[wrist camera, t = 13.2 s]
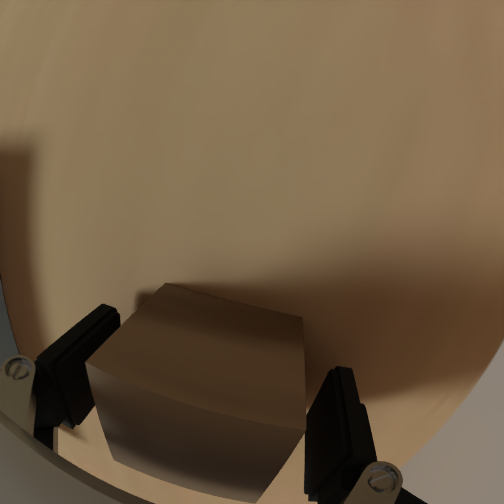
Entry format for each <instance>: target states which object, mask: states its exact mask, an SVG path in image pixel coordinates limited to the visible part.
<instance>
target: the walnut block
mask: <svg viewBox="0 0 504 504" xmlns="http://www.w3.org/2000/svg"><path fill="white" fill-rule="evenodd" d="M85 364H86V369H87V374H88V378H89V382H90V387H91V391H92V395H93V398H94V402H95V406H96V409H97V413H98V416H99V419H100V423H101V426H102V429H103V432H104V435H105V438H106V441H107V443H108V446H109V449H110V452H111V454H112V457H113V459H114V460H115V461H117V462H119V463H121V464H124V465H126V466H128V467H130V468H133V469H135V470H137V471H140V472H142V473H145V474H147V475H150V476H152V477H155V478H158V479H160V480H163V481H166V482H169V483H172V484H175V485H178V486H181V487H184V488H188V489H191V490H195V491H198V492H202V493H206V494H210V495H214V496H218V497H223V498H227V499H232V500H238V501H243V502H249V503H256V502H257V501H258V499H259V498H260V497H261V496H262V494H263V493H264V492H265V490H266V489H267V488H268V486H269V485H270V484H271V482H272V481H273V480H274V478H275V477H276V475H277V474H278V473H279V471H280V470H281V468H282V467H283V465H284V464H285V462H286V461H287V460H288V458H289V457H290V455H291V454H292V452H293V450H294V449H295V447H296V446H297V444H298V443H299V441H300V440H301V438H302V436H303V435H304V433H305V431H306V386H305V361H304V341H303V323H302V317H298V316H294V315H289V314H285V313H280V312H276V311H272V310H267V309H263V308H259V307H255V306H250V305H246V304H242V303H238V302H234V301H230V300H226V299H222V298H219V297H215V296H211V295H207V294H203V293H200V292H196V291H192V290H189V289H185V288H182V287H178V286H174V285H171V284H167V283H165V284H164V285H163V286H162V287H161V288H160V289H158V290H157V291H156V292H155V293H154V294H153V295H152V296H151V297H150V298H149V299H148V300H147V301H146V302H145V303H144V304H143V305H142V306H141V307H140V308H139V309H138V310H137V311H136V312H135V313H134V314H132V315H131V316H130V317H129V318H128V319H127V320H126V321H125V322H124V323H123V324H122V325H121V326H120V327H119V328H118V329H117V330H116V331H115V332H114V333H113V334H112V335H111V336H110V337H109V338H108V339H107V340H106V341H105V342H104V343H103V344H102V345H101V346H100V347H99V348H98V349H97V350H96V351H95V352H94V353H93V354H92V355H91V356H90V358H89V359H88V360H87V361H86V362H85Z"/></svg>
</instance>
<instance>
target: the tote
mask: <svg viewBox="0 0 504 504" xmlns="http://www.w3.org/2000/svg"><path fill="white" fill-rule="evenodd" d="M14 355H19V352H18V349H17V346H16V343H15V340H14V336H13V333H12V329H11V325H10V322H9V318H8V313H7V309H6V305H5V300H4V295H3V290H2V284H1V279H0V369H1V367H2V365H3V363H4V361H5V360H6V359H7V358H9V357H11V356H14Z"/></svg>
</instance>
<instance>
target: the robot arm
mask: <svg viewBox="0 0 504 504" xmlns="http://www.w3.org/2000/svg"><path fill="white" fill-rule="evenodd" d="M120 326H121V324H120V314H119V313H117V309H116V308H114V307H111V306H109V305H106V304H101V305H100V306H98V307H97V308H96V309H95V310H93V311H92V312H91V313H90V314H88V315H87V316H86V317H84V318H83V319H82V320H81V321H80V322H78V323H77V324H76V325H75V326H73V327H72V328H71V329H70V330H68V331H67V332H66V333H65V334H64V335H62V336H61V337H60V338H59V339H58V340H56V341H55V342H54V343H53V344H52V345H50V346H49V347H48V348H47V349H46V350H44V351H43V352H42V353H41V354H40V355H39V356H37V360H36V361H35V362H33V360H32V359H31V358H29V357H27V356H24V355H14V356H11V357H9V358H7V359H6V360H5V361H4V363H3V365H2V367H1V369H0V504H155V503H152V502H149V501H147V500H144V499H142V498H139V497H137V496H134V495H132V494H130V493H127V492H125V491H123V490H121V489H119V488H117V487H114V486H112V485H110V484H108V483H106V482H104V481H102V480H100V479H99V478H97V477H95V476H93V475H91V474H89V473H87V472H86V471H84V470H82V469H81V468H79V467H77V466H75V465H74V464H72V463H71V462H69V461H67V460H66V459H64V458H63V457H61V456H60V455H58V427H59V426H60V424H61V423H63V424H64V425H66V426H68V427H69V428H71V429H73V428H74V427H75V425H76V424H77V425H80V424H81V423H82V422H83V420H84V419H85V418H86V416H87V415H88V414H89V412H90V411H91V410H92V409H93V407H94V406H95V402H94V398H93V395H92V391H91V387H90V382H89V378H88V374H87V369H86V364H85V362H86V361H87V360H88V359H89V358H90V356H91V355H92V354H93V353H94V352H95V351H96V350H97V349H98V348H99V347H100V346H101V345H102V344H103V343H104V342H105V341H106V340H107V339H108V338H109V337H110V336H111V335H112V334H113V333H114V332H115V331H116V330H117V329H118V328H119V327H120ZM402 483H403V478H402V475H401V472H400V470H399V469H398V468H397V467H396V466H394V465H393V464H391V463H388V462H385V461H377V456H376V451H375V446H374V442H373V437H372V432H371V428H370V423H369V419H368V415H367V411H366V407H365V405H364V404H362V403H360V399H359V395H358V391H357V387H356V383H355V379H354V375H353V371H352V369H351V368H346V367H340V366H336V367H335V368H334V369H330V370H329V372H328V374H327V376H326V378H325V380H324V382H323V384H322V386H321V388H320V390H319V392H318V394H317V396H316V398H315V400H314V402H313V404H312V406H311V408H310V409H309V411H308V413H307V415H306V431H305V473H304V493H305V494H308V501H315V502H318V504H427V503H426V502H424V501H422V500H421V499H419V498H418V497H416V496H414V495H413V494H411V493H410V492H408V491H407V490H405V489H403V488H402Z"/></svg>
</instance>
